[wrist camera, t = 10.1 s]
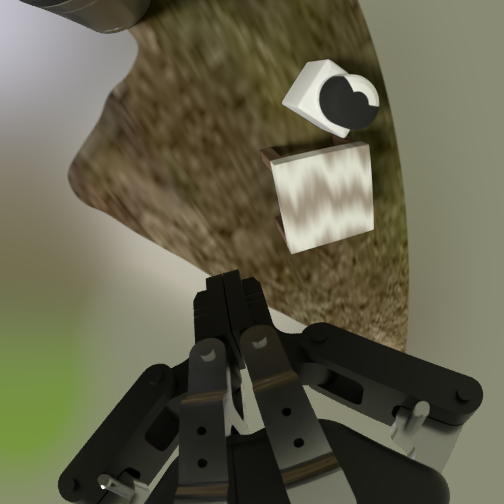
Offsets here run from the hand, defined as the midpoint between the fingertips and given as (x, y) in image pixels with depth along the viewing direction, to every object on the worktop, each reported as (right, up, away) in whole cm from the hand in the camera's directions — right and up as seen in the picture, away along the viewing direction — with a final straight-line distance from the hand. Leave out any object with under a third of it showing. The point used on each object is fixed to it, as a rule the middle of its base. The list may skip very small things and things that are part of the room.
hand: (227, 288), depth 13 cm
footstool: (+4, +8, +25) cm, 27 cm away
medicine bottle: (+10, +23, +23) cm, 34 cm away
